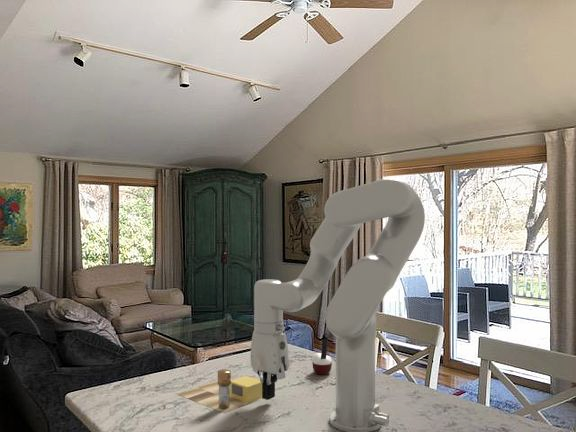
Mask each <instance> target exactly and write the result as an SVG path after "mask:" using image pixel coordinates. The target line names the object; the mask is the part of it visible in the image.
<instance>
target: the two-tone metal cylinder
mask: <svg viewBox="0 0 576 432" xmlns="http://www.w3.org/2000/svg"><path fill="white" fill-rule="evenodd" d="M217 380H218V385H219V408H220V409H227V408H229V407H230V384H231V381H232V371H231V369H220V370H218V371H217Z"/></svg>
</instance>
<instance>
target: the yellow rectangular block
mask: <svg viewBox="0 0 576 432" xmlns="http://www.w3.org/2000/svg"><path fill="white" fill-rule="evenodd" d="M230 396H231V397H234V398H236V399H239V400H242V401H245V402H250V401H253V400H255V399H258V398H260V397H262V383H261V382H260V379H257V378H254V377H250V376H248V375H244V376H242V377H241V376H240V377H239V378H236V379H233V380H232V379H231V384H230ZM258 400H259V399H258ZM253 402H254V401H253Z"/></svg>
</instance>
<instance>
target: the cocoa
mask: <svg viewBox="0 0 576 432" xmlns="http://www.w3.org/2000/svg"><path fill="white" fill-rule="evenodd" d="M328 343H329V339H328V338H323V339H322V344H321V345H322V346H321V352H316V353H314V354H313V355H312V359H311V360H312V362H311V363H312V369H313V372H314V373H315V374H316V375H319V376H326V375H328V374H329V373H330V372H331V371H332V367H333V366H332V365H333V364H332V358H331V356H329V355H327V353H328V345H329V344H328Z"/></svg>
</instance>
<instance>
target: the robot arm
mask: <svg viewBox="0 0 576 432" xmlns="http://www.w3.org/2000/svg"><path fill="white" fill-rule="evenodd" d="M323 211H324V212H323V213H324V219H323V221H321V224H320V225H319V227H318V228H317V230H316V231H315V233H314V235H313V236H312V238H311V239H310V242H309V248H310V255H309V259H308V261H307V263H306V265H305V267H304V268H303V269H302V271H301V273H300V274H299V276H298V277H297V278H296V279H294V280H291V281H287V282H282V281H281V280H279V279H274V278H273V279H260V280H257V281H255V283H254V286H253V287H254V288H253V289H254V290H253V306H254V307H253V308H254V309H253V310H254V311H253V313H254V314H253V318H254V319H253V322H254V323H253V324H254V326H253V327H254V328H253V329H254V330H253V332H252V336H251V342H250V365H251V367H252V371H253V372H254V373H255V374H257V375H258V377H259V380H260V382H261V383H262V398H261V399H263V400H266V401H267V400H271V399H273V398H275V396H276V393H275V392H276V383H277V382H278V380H279V381H280V380H283V379H286V372H287V371H288V370H289V367H290V362H289V361H290V360H289V359H290V358H289V347H288V341H287V340H288V339H287V335H286V333H285V332H284V331H285V330H286V327H285V325H284V312H288V313H296V312H299V311H301V310H303V309H304V308H306V307H308V306H310V305H312V304H313V303H314V302H315V301H316V300H317V298H318V297H319V296H320V294H321V293H322V291H323V290H324V288H325V286H326V285H327V284H328V282H329V281H330V279H331V277H332V275H333V273H334V271H335V269H336V268H337V265H338V264H339V261H340V259H341V257H342V255H343V254H344V253H345V251H346V249H347V248H348V246H349V245H350V243H351V242H352V241H353V239H354V237H356V236H355V235H356V234H357V232H358V231H359V229H361V226H362V225H363V224H365V223H370V222H373V221H377V220H381V219H386V218H388V219H387V222H386V224H385V226H384V227H383V228H382V230H381V232H380V233H379V234H378V237H377V239H376V241H375V242H374V244H373V245H372V247H371V249H370V250H369V252H368V253H367V254H366V255H365V256H363V257H361V258H359V259H357V260H356V261H355V262H354V263H353V265H351V267H350V268H349V270H348V271H347V273H346V275H345V276H344V278H343V279H342V281H341V283H340V284H339V286H338V288H337V290H336V292H335V293H334V295H333V297H332V298H331V300H330V302H329V303H328V306H327V307H326V311H325V314H324V315H325V316H324V318H325V324H326V326H327V329H328V330H329V332H330V334H331V335H333V336H334V337H335V410H333V411H332V412H331V413H330V414H329V418H328V419H329V420H328V421H329V423H330V425H331V426H332V427H334V428H335V429H337V430H340V431H343V432H374V431H377V430H378V429H380V428H381V427H386V428H388V426H389V424H390V415H389V414H387V413H384V412H381V411H380V404H377V403H376V336H377V334H376V332H377V321H378V320H377V319H378V317H377V316H378V314H377V313H378V312H377V309H378V307H379V306H380V304H381V302H382V301H383V299H384V298H385V296H386V295H387V293H388V292H389V291H390V290H391V289H393V287H394V286H395V284H396V282H397V280H398V278H399V276H400V274H401V272H402V270H403V268H404V267H405V265H406V264H407V262H408V260H409V258H410V256H411V254H412V253H413V252H414V249H415V247H416V245H417V244H418V242H419V240H420V238H421V236H422V233H423V231H424V227H425V221H426V220H425V219H426V215H425V208H424V205H423V203H422V199H420V196H419V195H418V194H417V192H416V190H415V189H414V188H413V187H412V186H411V185H410V184H408V182H405V181H403V180H401V179H399V178H394V177H387V178H380V179H378V180H374V181H371V182H369V183H365V184H362V185H357V186H354V187H350V188H347V189H343V190H339V191H336V192H334V193H333V194H331V195H330V196H329V197H328V198H327V199H326V202H325V204H324V209H323Z"/></svg>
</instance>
